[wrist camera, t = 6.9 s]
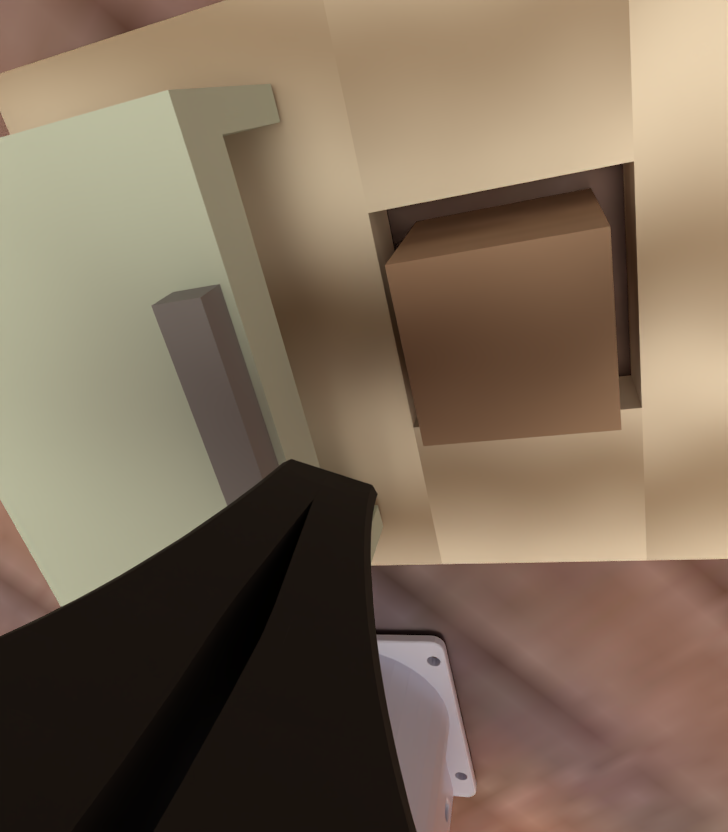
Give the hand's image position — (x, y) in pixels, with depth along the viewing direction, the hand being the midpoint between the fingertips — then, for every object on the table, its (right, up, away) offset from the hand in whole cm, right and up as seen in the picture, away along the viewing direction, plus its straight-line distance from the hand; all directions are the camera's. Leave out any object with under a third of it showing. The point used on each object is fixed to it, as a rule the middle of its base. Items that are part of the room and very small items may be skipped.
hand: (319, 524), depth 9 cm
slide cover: (-4, +3, +9) cm, 10 cm away
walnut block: (+5, +5, +8) cm, 11 cm away
